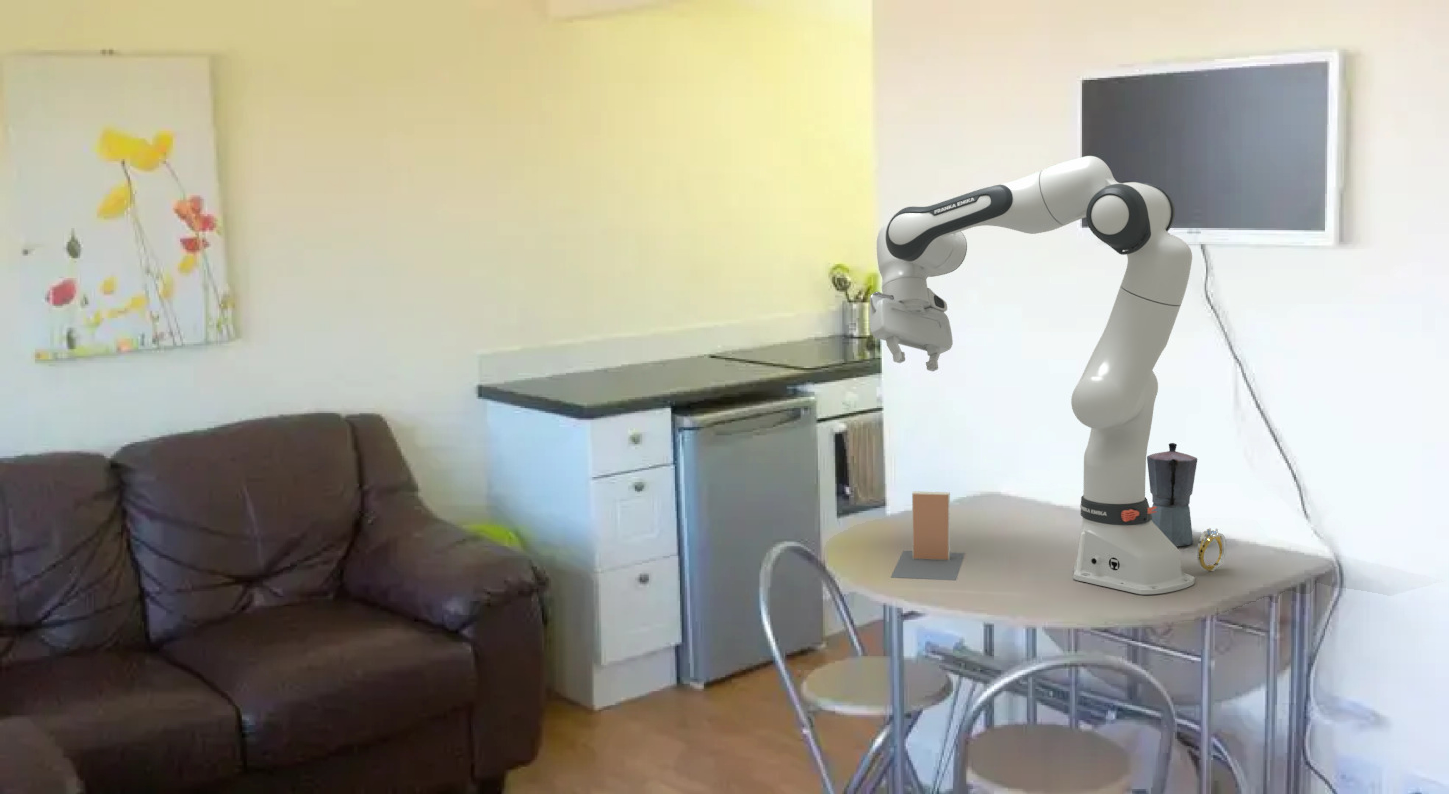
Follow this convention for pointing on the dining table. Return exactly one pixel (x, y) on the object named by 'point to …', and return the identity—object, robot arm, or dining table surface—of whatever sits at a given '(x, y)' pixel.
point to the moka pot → (1172, 493)
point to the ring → (1202, 547)
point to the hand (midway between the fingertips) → (916, 365)
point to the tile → (931, 525)
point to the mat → (928, 567)
